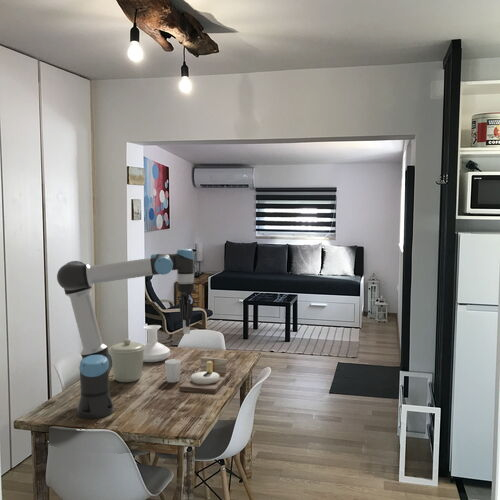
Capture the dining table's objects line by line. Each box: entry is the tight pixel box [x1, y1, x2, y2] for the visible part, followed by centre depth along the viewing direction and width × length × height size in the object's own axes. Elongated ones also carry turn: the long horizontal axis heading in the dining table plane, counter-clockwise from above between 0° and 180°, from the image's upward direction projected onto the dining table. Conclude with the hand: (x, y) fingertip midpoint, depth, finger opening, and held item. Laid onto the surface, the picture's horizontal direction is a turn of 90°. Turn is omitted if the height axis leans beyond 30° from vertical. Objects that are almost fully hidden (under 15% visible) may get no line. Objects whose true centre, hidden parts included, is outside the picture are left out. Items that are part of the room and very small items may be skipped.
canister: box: [108, 338, 145, 383], centre depth 268 cm, size 18×18×21 cm
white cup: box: [164, 358, 182, 384], centre depth 266 cm, size 8×8×10 cm
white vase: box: [142, 324, 171, 363], centre depth 304 cm, size 20×20×19 cm
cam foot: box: [190, 361, 219, 384], centre depth 260 cm, size 14×14×8 cm
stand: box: [178, 356, 232, 394], centre depth 262 cm, size 27×18×9 cm, turn 166°
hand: (186, 333), depth 242 cm, fingers closed
